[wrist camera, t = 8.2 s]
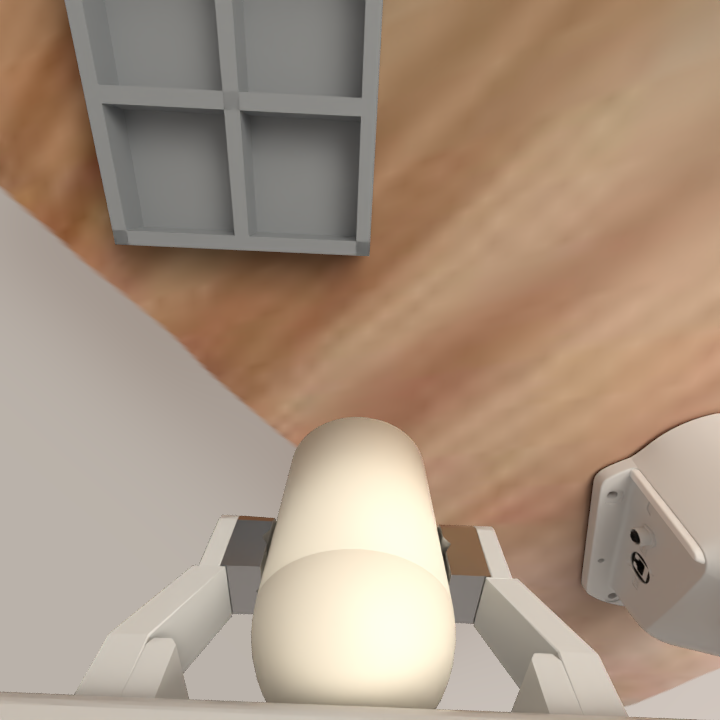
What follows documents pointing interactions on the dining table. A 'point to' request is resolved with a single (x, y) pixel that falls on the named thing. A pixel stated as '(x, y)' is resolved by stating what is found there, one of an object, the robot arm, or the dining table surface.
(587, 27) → the dining table surface
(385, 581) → the wooden egg
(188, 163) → the egg carton
